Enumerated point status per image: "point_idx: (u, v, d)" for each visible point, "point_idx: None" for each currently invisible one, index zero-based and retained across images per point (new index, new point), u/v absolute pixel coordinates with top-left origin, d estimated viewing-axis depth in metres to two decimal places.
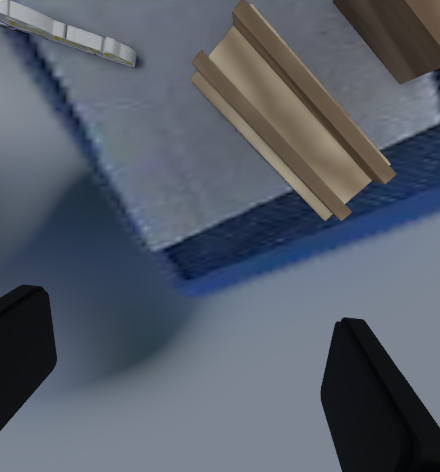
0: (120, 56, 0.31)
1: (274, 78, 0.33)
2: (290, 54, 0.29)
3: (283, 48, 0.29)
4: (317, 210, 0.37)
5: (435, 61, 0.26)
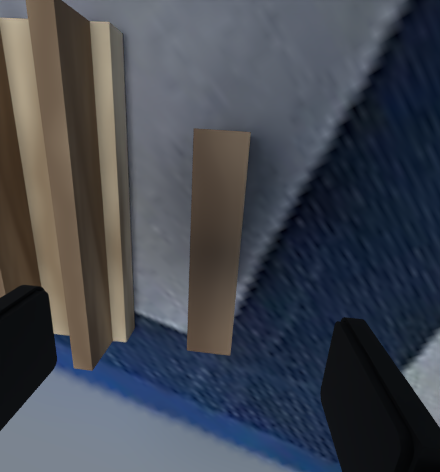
0: None
1: None
2: (66, 139, 0.17)
3: (61, 122, 0.16)
4: None
5: None
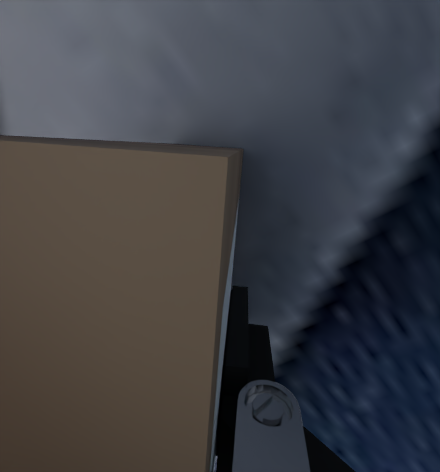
0: None
1: None
2: None
3: None
4: None
5: None
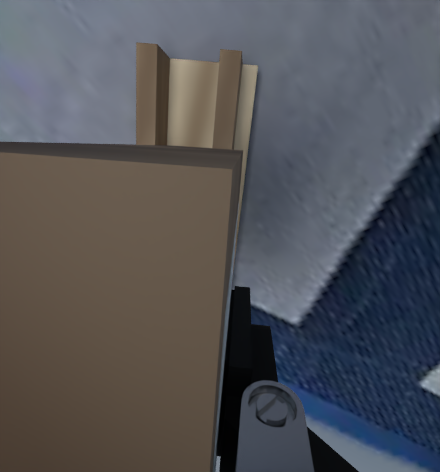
0: None
1: None
2: None
3: (228, 141, 0.22)
4: None
5: None
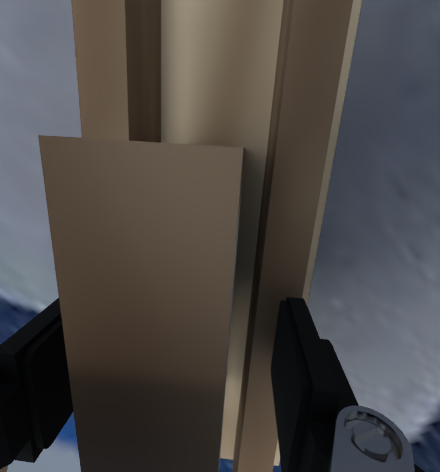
0: None
1: (252, 175, 0.12)
2: (316, 187, 0.09)
3: (317, 156, 0.08)
4: None
5: None
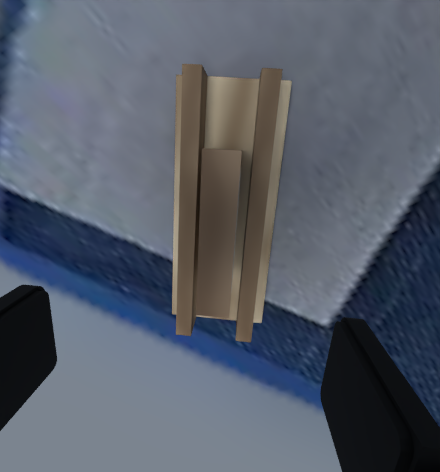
0: None
1: (246, 163, 0.27)
2: (269, 165, 0.23)
3: (269, 153, 0.23)
4: (174, 300, 0.31)
5: None
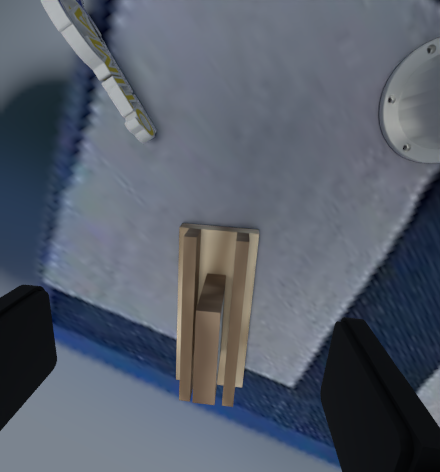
0: (135, 135, 0.31)
1: (228, 282, 0.38)
2: (242, 296, 0.34)
3: (242, 290, 0.34)
4: (177, 370, 0.42)
5: None
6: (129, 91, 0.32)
